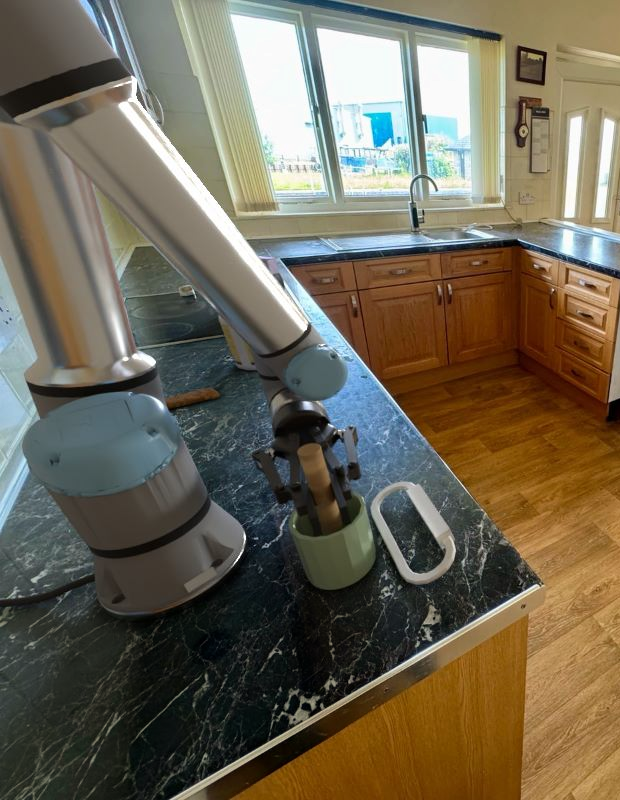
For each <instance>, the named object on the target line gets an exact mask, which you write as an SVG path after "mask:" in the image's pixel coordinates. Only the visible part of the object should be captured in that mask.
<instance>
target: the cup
mask: <svg viewBox="0 0 620 800" xmlns="http://www.w3.org/2000/svg"><path fill="white" fill-rule="evenodd" d="M352 493H353V498H352V499H350V500H347V501H345V502H346V505H347V508H348V512H349V516H350V519H351V524H349V525H346V526H345V525H344V522H343V519H342V522H343V525H344V529H342V530H341V531H338V532H336V533H333V534H330V535H328V536H324V533H323V530H322V527H321V530H322V533H323V534H322V535H320V536H317V537H315V534H314V531H313V528H312V526H311V523H310V520H309V516H308V514H307V515H304V516H301V517H300V516H298V515H297V512H296V509H295V508H294V510H293V511H292V513H291V515H290V518H289V519H288V527H289V532H290V535H291V537H292V540H293V543H294V545H295V548H296V551H297V554H298V557H299V559H300V562H301V564H302V567H303V570H304V573H305V576H306V578H307V579H308V581H309V583H311V585H312V586H314V587H316V588H318V589H321V590H326V591H333V590H339V589H344V588H347V587H349V586H351V585H354V584H355V583H357V582H359V581H360V580H362V579H363V578H364V577H365V576H366V575H367V574H368V573H369V571H371V569H372V567H373V565H374V563H375V561H376V557H377V552H376V551H377V549H376V545H375V540H374V537H373V532H372V526H371V524H370V519H369V513H368V510H367V506H366V502H365V501H364V497H363V496H362V495H360V494H359V493H358V492H356V491H355V490H352ZM317 515H318V514H317ZM340 515H341V514H340ZM341 518H342V516H341ZM318 519H319V518H318ZM319 522H320V521H319ZM320 526H321V524H320Z"/></svg>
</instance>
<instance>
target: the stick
mask: <svg viewBox="0 0 620 800" xmlns="http://www.w3.org/2000/svg"><path fill="white" fill-rule="evenodd" d="M297 453H298V456H299V459H300V462H301V465H302V469H303V472H304V475H305V482H306V483H307V484H308V487H309V489H310V492H311V495H312V498H313V501H314V504H315V508H316V511H317V514H318V518H319V521H320V524H321V527H322V530H323V533H324V536H328V535H330V534H333V533H336V532H338V531H341V530H342V529H344V525H343V522H342V518H341V515H340V511H339V508H338V505H337V502H336V499H335V495H334V492H333V488H332V485H331V480H330V477H329V475H330V473H329V471H328V470H327V466H326V463H325V460H324V456H323V453H322V449H321V446H320V445H319V444H316V443H310V444H306V445H304V446H302V447H300V448H299V449H298V452H297Z"/></svg>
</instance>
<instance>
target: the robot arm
mask: <svg viewBox="0 0 620 800" xmlns="http://www.w3.org/2000/svg"><path fill="white" fill-rule="evenodd" d="M136 93H137V78H136V77H135V76H134V75H133V73H132V72H131V71H130V69H129V68H128V66H126V64H125V63H124V62H123V61H122V59H121V58H120V57H119V55H118V54H117V52H116V51H115V50H114V48H113V47H112V46H111V44H110V43H109V41H108V40H107V38H106V37H105V36H104V34H103V32H102V31H101V30H100V28H99V27H98V26H97V24H96V23H95V21H94V19H93V18H92V17H91V15H90V14H89V13H88V11H87V10H86V8H85V7H84V6H83V4H82V3H81V1H80V0H0V259H1V261H2V263H3V267H4V270H5V272H6V275H7V277H8V280H9V283H10V285H11V288H12V291H13V294H14V296H15V300H16V303H17V305H18V308H19V310H20V313H21V315H22V318H23V322H24V324H25V327H26V329H27V332H28V335H29V337H30V340H31V343H32V346H33V349H34V352H35V354H36V357H37V358H36V360H35V361H34V362H33V363H32V364H31V365H30V366H29V367H28V368H26V370H25V371H24V372H23V377H24V380H25V382H26V385H27V388H28V390H29V392H30V396H31V399H32V402H33V404H34V406H35V410H36V411H37V414H38V417H39V419H37V420H36V421H35V422H33V424H31V425H30V427H29V428H28V429H27V431H26V432H25V434H24V436H23V439H22V442H21V447H22V448H21V450H22V454H23V456H24V459H25V460H26V463H27V467H28V471H29V472H30V474H31V475H32V476H33V477H34V478H35V479H36V480H37V481H38V483H39V484H40V485H41V486H43V487H44V489H45V490H46V491H47V492H48V494H49V496H50V497H51V498H52V500H53V501H54V502H55V503H56V505H57V506H58V508H59V509H60V510H61V512H62V513H63V514H64V516H65V518H66V519H67V520H68V521H69V523H70V524H71V526H72V527H73V528H74V530H75V531H76V533H77V534H78V535H79V537H80V538H81V539H82V541H83V542H84V544H85V545H86V546H87V547H88V549H89V550H90V552H91V553H92V558H93V570H94V571H93V573H90V574H88V575H85V576H83V577H80V578H78V579H75V580H73V581H72V580H71V581H70V582H68V583H65V584H63V585H61V586H59V587H56V588H54V589H52V590H48V591H46V592H43V593H38V594H34V595H29V596H21V597H12V598H0V608H10V607H21V606H26V605H27V606H29V605H34V604H39V603H42V602H46V601H49V600H52V599H55V598H58V597H60V596H62V595H64V594H66V593H69V592H70V591H73V590H76V589H78V588H81V587H83V586H86V585H88V584H91V583H93V582H94V585H95V594H96V596H97V600H98V602H99V604H100V605H101V606H102V607H103V609H104V610H105V611H106V612H107V613H108V615H110V616H111V617H112V618H113V619H117V620H120V621H125V622H144V621H146V622H147V621H152V620H156V619H160V618H161V619H162V618H163V617H167V616H171V615H172V614H176V613H178V612H181V611H183V610H185V609H187V608H189V607H191V606H194V605H195V604H197V603H200V602H201V601H202V600H205V598H207V597H209V596H210V595H212V594H213V593H214V592H216V591H217V590H218V589H220V588H221V587H222V586H223V585H224V584H225V583H227V581H229V580H230V579H231V578H232V576H233V575H234V574H235V573H236V572H237V571H238V569H239V568H240V566H242V564H243V562H244V561H245V559H246V556H247V554H248V551H249V550H248V549H249V538H248V535H247V533H246V531H245V529H244V527H243V525H242V524H241V523H240V522H239V521H238V520H237V519H236V518H235V517H233V516H232V515H231V514H230V513H229V512H228V511H226V510H225V509H223V507H221V506H220V505H218V503H216V502H215V501H214V500H212V498H211V496H210V494H209V491H208V490H207V487H206V485H205V482H204V481H203V479H202V477H201V473H200V472H199V470H198V467H197V466H196V463H195V462H194V460H193V457H192V454H191V453H190V450H189V449H188V447H187V444H186V443H185V441H184V438H183V436H182V434H181V428H180V425H179V422H178V421H177V419H176V417H175V416H174V414H173V413H172V412H170V409H168V408H167V405H166V401H165V397H166V396H165V394H164V389H163V386H162V382H161V378H160V375H159V371H158V366H157V362H156V359H155V358H154V357H152V356H151V355H149V354H147V353H145V352H143V351H141V350H139V349H138V348H137V345H136V341H135V337H134V334H133V329H132V326H131V322H130V318H129V315H128V310H127V307H126V303H125V299H124V295H123V291H122V288H121V284H120V280H119V276H118V273H117V268H116V265H115V261H114V257H113V253H112V250H111V246H110V242H109V238H108V234H107V231H106V227H105V223H104V219H103V215H102V211H101V207H100V204H99V201H98V196H97V193H96V189H98V190H99V192H100V193H101V194H102V195H104V197H105V198H106V199H107V200H108V201H109V202H110V203H111V204H112V205H113V206H114V207H115V208H116V209H117V210H118V211H119V212H120V213H121V215H123V216H124V218H126V220H127V221H128V222H129V223H130V224H131V225H132V227H134V228H136V230H137V231H138V232H139V233H140V235H142V236H143V238H145V239H146V240H147V242H149V244H150V245H151V246H152V247H153V248H154V249H155V250H156V251H157V252H158V253H159V254H160V255H161V256H162V257H163V258H164V259H165V260H166V261H167V263H169V264H170V266H172V267H173V269H175V271H176V272H178V274H179V275H180V276H181V277H182V278H183V279H184V280H185V281H186V282H187V283H188V284H189V285H190V287H192V288H193V290H195V292H196V293H197V294H199V296H200V297H201V298H202V299H203V300H204V301H205V302H206V304H208V305H209V306H210V307H211V309H213V310H214V311H215V312H216V313H217V315H218V316H219V315H220V316H221V317H222V318H223V319H224V320H225V321H226V322H227V324H228V325H229V326H230V327H231V328H232V329H233V330H234V331H235V332H236V333H237V334H238V335H239V336H240V337H241V338H242V339H243V340H244V341H245V342H246V343H247V344H248V346H249V349H250V352H251V355H252V357H253V360H254V363H255V366H256V368H257V370H256V371H257V375H258V379H259V382H260V385H261V387H262V390H263V393H264V397H265V400H266V403H267V408H268V413H269V414H268V415H269V419H270V424H271V427H272V429H271V430H272V435H273V439H274V441H273V442H272V444H271V447H270V448H269V449H267V450H266V451H263V450H262V449H257V450H253V451H252V452H251V457H252V459H253V462H254V464H255V467H256V469H257V470H258V471H259V472H261V473H262V474H264V475H265V477H266V479H267V481H268V484H269V486H270V489H271V491H272V494H273V495H274V498H275V500H276V502H277V505H285V504H287V503H288V502H289V501H292V502H293V505H294V510H295V509H296V512H297V515H298V516H300V517H301V516H304V515H307V514H308V516H309V520H310V523H311V526H312V528H313V531H314V534H315V537H317V536H320V535H322V534H323V533H322V530H321V526H320V522H319V519H318V515H317V511H316V508H315V504H314V501H313V498H312V495H311V492H310V489H309V487H308V484H307V482H306V478H305V475H304V472H303V469H302V465H301V462H300V459H299V456H298V453H297V452H298V449H299V448H300V447H302V446H304V445H306V444H310V443H316V444H319V445H320V446H321V449H322V453H323V456H324V460H325V463H326V466H327V470H328V473H329V477H330V480H331V485H332V488H333V492H334V495H335V499H336V502H337V505H338V508H339V511H340V514H341V516H342V519H343V522H344V525H345V526H346V525H349V524H351V519H350V516H349V512H348V508H347V505H346V502H345V501H347V500H350V499H352V498H353V493H352V491H353V489H352V486H351V483H350V482H351V481H352V480H353V481H357V480H359V479H361V478H362V473H361V468H360V462H359V457H358V452H357V445H358V442H359V440H360V439H359V436H358V431H357V427H356V424H349V425H347V426H346V427H345V429H339V428H338V427H337V426H335V425H332V423H331V420H330V417H329V415H328V412H327V410H326V408H325V405H324V403H323V401H326V400H328V399H331V398H333V397H335V396H337V394H338V393H340V391H342V389H343V388H344V387H345V385H346V383H347V381H348V377H349V368H348V364H347V361H346V360H345V359H344V357H343V356H342V354H340V353H339V352H338V350H337V349H336V348H334V347H333V346H331V345H329V344H328V343H327V342H326V341H325V339H324V338H323V337H322V335H320V333H319V332H318V331H317V329H316V328H315V327H314V326H313V324H311V322H310V321H309V319H308V318H307V317H306V315H305V314H304V313H303V311H302V310H301V309H300V307H299V306H298V305H297V303H295V301H294V300H293V298H292V297H291V296H290V295H289V294H288V292H287V291H286V289H285V290H284V288H283V287H282V286H281V284H280V283H279V282H278V281H277V279H276V278H275V277H274V276H273V274H272V273H271V272H270V270H269V269H268V268H267V267H266V265H265V264H264V263H263V261H262V260H261V259H260V258H259V256H260V255H258V253H257V252H256V251H255V250H254V249H253V247H252V246H251V244H250V243H249V242H248V240H246V238H245V237H244V236H243V234H242V233H241V232H240V231H239V230H238V228H237V227H236V225H235V224H234V223H233V222H232V220H231V219H230V218H229V216H228V215H227V214H226V212H225V211H224V210H223V208H221V206H220V205H219V204H218V202H217V201H216V200H215V198H214V197H213V195H211V194H210V192H209V191H208V190H207V188H206V187H205V185H203V183H202V182H201V180H200V179H199V178H198V177H197V175H196V174H195V173H194V172H193V170H192V169H191V167H190V166H189V165H188V164H187V162H185V160H184V159H183V157H182V156H181V154H179V152H178V151H177V149H176V148H175V147H174V146H173V145H172V144H171V142H170V140H169V139H168V138H167V136H165V134H164V133H163V132H162V131H161V129H160V128H159V127H158V126H157V124H156V123H155V121H154V120H153V119H152V118H151V116H150V115H149V114H148V112H147V111H146V110H145V108H143V106H142V104H141V103H140V101H138V99H137V96H136ZM95 187H96V189H95ZM339 440H340V442H341V443H342V444H343V445H344V449H345V450H344V451H345V457H346V461H347V465H346V466H344V463H341V462H340V460H339V459H338V457H337V455H336V454H335V453H334V451H333V448H334V446H335V445H336V444H337V443H338V441H339ZM276 458H279V459H282V460H285V461H288V462H289V484H284V482H283V480H282V478H281V476H280V474H279V471H278V470H277V468H276V465H275V463H276V462H277V459H276Z"/></svg>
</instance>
